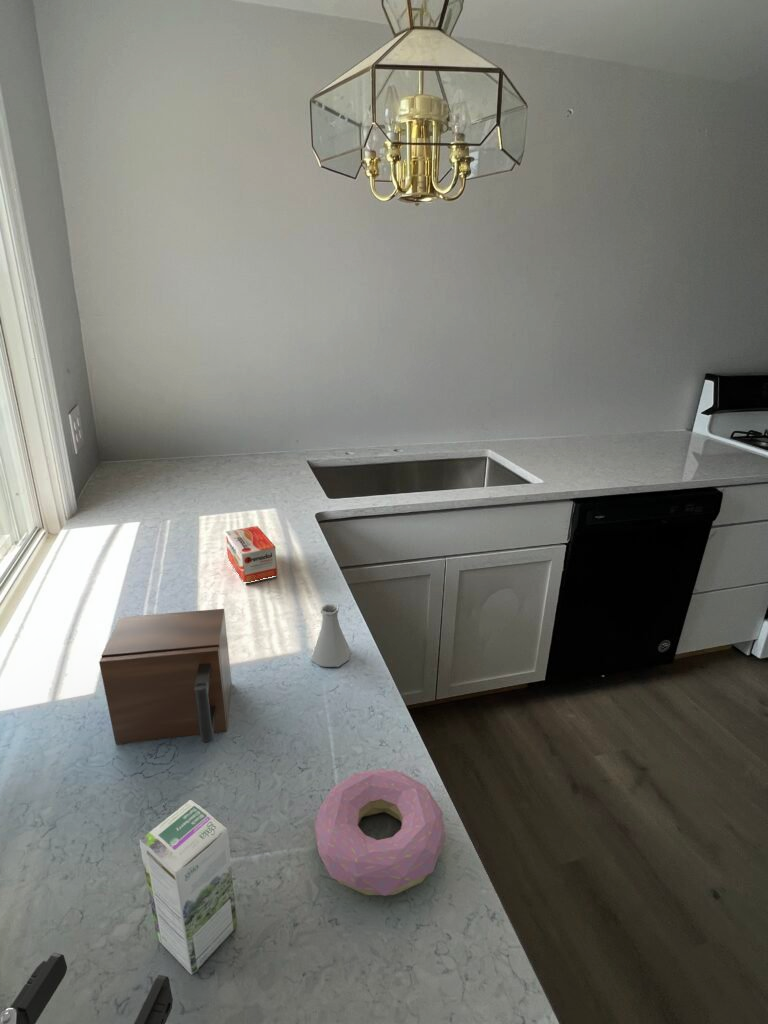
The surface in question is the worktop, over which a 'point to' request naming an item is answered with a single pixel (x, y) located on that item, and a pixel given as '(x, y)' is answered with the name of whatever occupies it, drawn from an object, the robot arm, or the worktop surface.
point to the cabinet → (173, 637)
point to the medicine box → (251, 553)
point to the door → (165, 695)
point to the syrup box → (190, 884)
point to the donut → (383, 860)
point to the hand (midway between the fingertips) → (112, 970)
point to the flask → (330, 640)
